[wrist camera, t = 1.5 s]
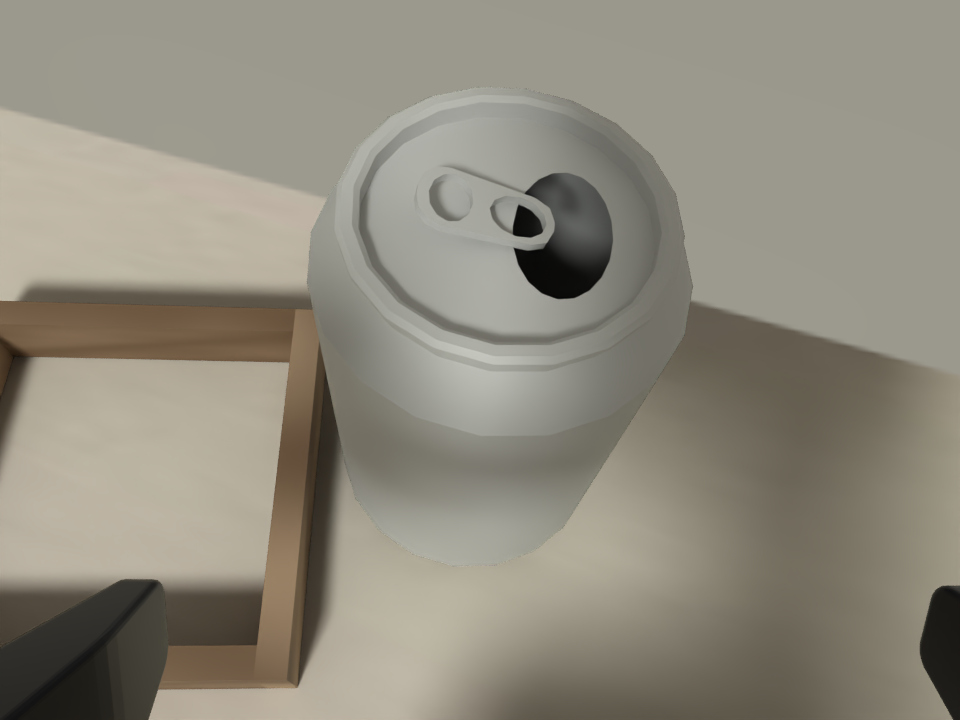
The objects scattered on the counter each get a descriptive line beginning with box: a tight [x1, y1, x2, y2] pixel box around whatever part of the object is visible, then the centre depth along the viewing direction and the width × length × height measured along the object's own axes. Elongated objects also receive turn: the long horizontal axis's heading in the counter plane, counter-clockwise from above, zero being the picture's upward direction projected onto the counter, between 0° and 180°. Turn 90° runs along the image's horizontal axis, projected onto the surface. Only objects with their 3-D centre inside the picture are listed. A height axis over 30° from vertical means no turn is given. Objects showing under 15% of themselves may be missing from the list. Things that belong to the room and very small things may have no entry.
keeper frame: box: [0, 301, 326, 689], centre depth 21 cm, size 11×11×2 cm
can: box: [307, 87, 693, 566], centre depth 18 cm, size 8×8×12 cm
